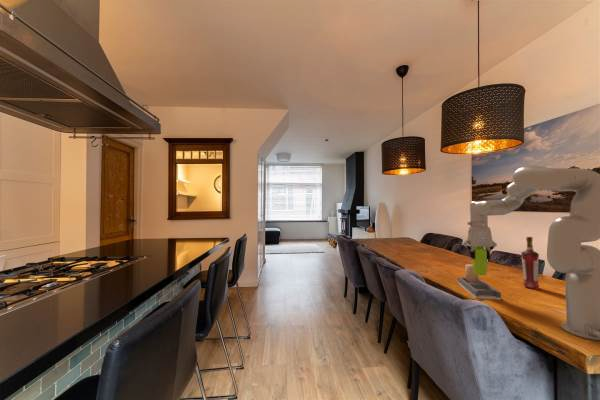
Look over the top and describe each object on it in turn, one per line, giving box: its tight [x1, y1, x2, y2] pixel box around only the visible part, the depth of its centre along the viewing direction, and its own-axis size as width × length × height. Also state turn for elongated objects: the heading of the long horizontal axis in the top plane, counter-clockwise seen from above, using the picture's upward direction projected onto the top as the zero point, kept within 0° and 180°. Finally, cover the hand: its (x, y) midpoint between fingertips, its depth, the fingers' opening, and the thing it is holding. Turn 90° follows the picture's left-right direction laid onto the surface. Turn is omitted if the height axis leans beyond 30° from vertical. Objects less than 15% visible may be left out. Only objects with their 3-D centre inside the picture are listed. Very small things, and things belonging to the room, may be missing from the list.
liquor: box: [520, 236, 540, 290], centre depth 146 cm, size 7×7×28 cm
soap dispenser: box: [472, 246, 488, 276], centre depth 138 cm, size 6×7×20 cm
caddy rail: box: [457, 263, 502, 301], centre depth 143 cm, size 26×11×12 cm, turn 166°
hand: (480, 258), depth 138 cm, fingers closed on soap dispenser, 6 cm apart
